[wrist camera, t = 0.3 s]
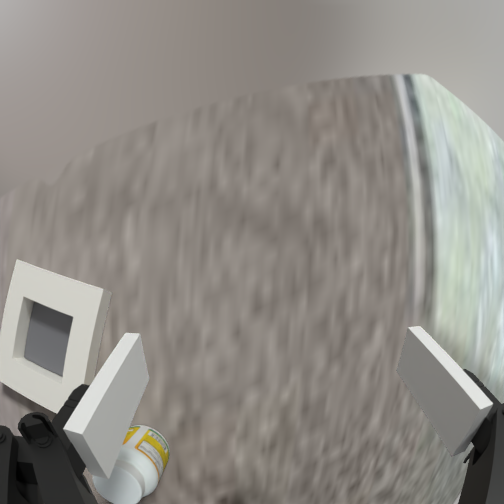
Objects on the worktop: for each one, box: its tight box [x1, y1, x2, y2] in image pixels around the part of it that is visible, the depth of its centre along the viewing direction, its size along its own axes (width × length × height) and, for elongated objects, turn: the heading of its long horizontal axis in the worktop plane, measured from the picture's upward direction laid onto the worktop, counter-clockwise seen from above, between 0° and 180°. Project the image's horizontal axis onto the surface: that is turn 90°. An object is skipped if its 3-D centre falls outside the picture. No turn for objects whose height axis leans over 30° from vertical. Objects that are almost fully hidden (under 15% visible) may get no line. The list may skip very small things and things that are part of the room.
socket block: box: [0, 259, 112, 414], centre depth 24 cm, size 14×12×2 cm
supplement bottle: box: [93, 425, 170, 504], centre depth 19 cm, size 5×5×10 cm
